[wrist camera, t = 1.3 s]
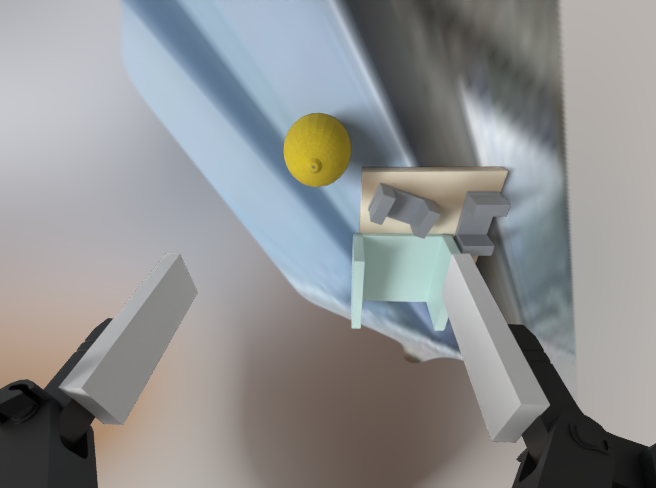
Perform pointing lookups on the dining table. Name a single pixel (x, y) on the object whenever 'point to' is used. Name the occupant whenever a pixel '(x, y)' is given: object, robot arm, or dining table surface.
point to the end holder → (401, 271)
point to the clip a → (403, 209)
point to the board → (428, 192)
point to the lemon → (317, 149)
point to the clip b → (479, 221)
